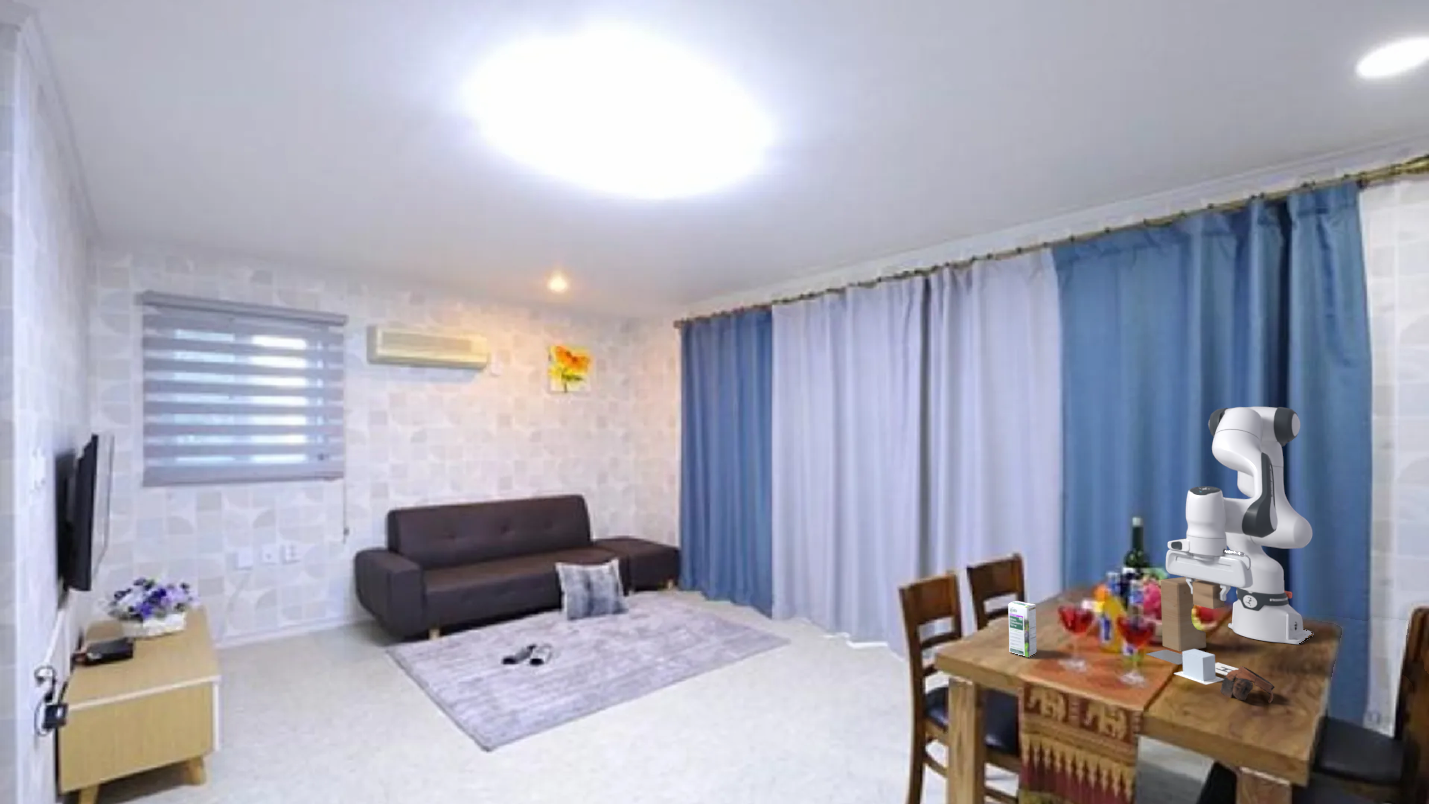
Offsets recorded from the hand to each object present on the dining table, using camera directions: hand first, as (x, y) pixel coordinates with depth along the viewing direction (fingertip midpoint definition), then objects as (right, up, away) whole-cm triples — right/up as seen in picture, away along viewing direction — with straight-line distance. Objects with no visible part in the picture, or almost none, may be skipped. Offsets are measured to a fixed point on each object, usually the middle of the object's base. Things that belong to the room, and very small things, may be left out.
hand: (1208, 597), depth 178 cm
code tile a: (+2, -19, -3) cm, 19 cm away
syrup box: (-45, -20, +12) cm, 51 cm away
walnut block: (0, -2, 0) cm, 2 cm away
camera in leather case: (-6, -19, -20) cm, 29 cm away
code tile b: (-8, -19, -7) cm, 22 cm away
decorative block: (+4, -20, +15) cm, 25 cm away
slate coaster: (-5, -19, +7) cm, 21 cm away
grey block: (-8, -19, -7) cm, 21 cm away
